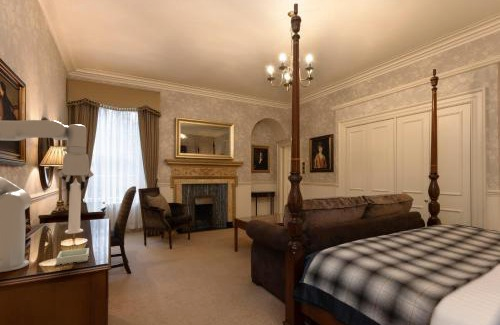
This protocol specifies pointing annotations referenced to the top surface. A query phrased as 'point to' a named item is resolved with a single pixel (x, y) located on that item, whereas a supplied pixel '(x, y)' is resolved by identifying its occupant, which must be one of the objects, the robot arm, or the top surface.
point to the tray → (72, 256)
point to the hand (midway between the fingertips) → (75, 190)
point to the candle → (74, 208)
